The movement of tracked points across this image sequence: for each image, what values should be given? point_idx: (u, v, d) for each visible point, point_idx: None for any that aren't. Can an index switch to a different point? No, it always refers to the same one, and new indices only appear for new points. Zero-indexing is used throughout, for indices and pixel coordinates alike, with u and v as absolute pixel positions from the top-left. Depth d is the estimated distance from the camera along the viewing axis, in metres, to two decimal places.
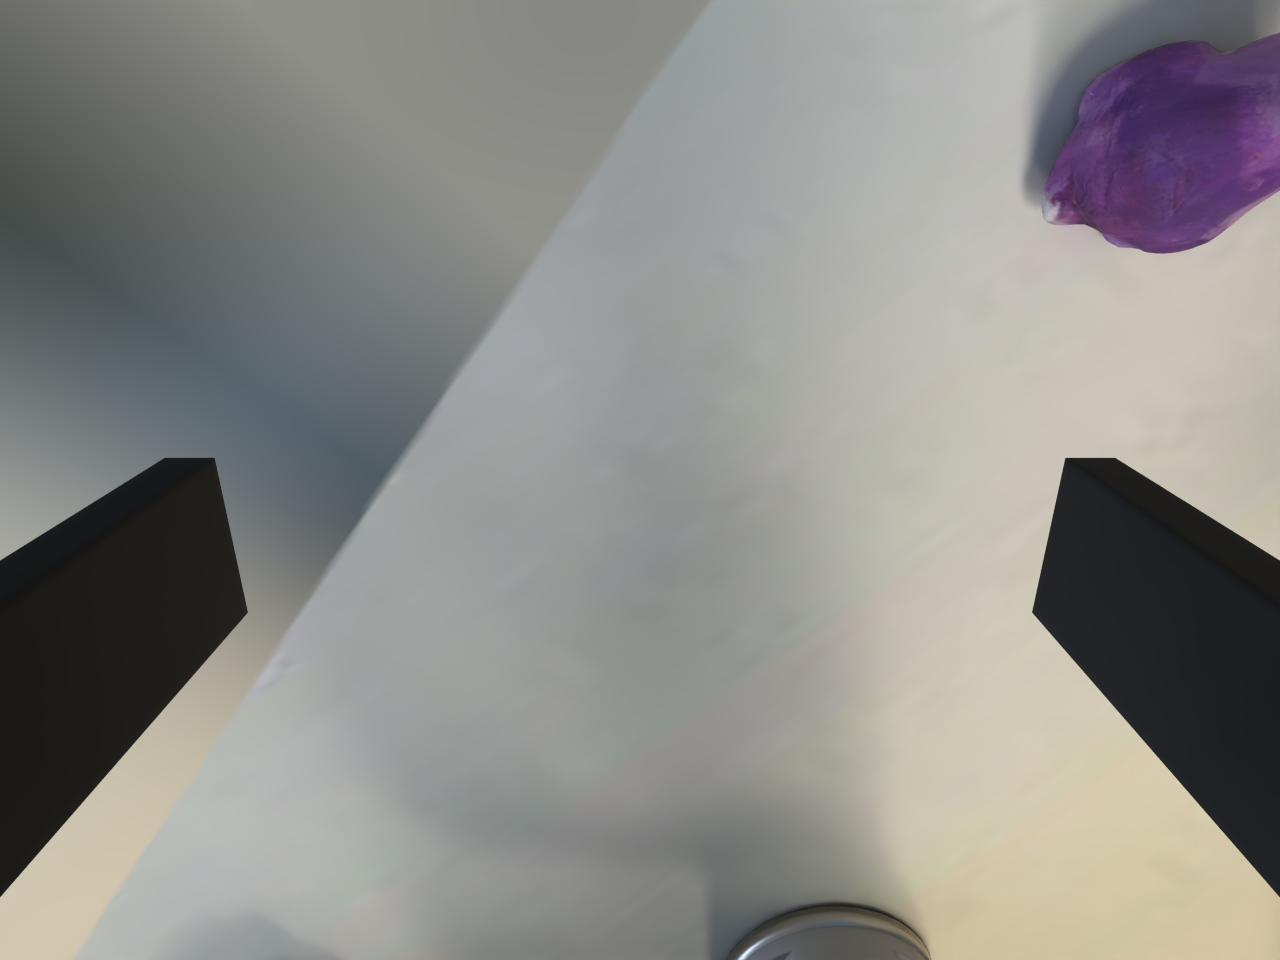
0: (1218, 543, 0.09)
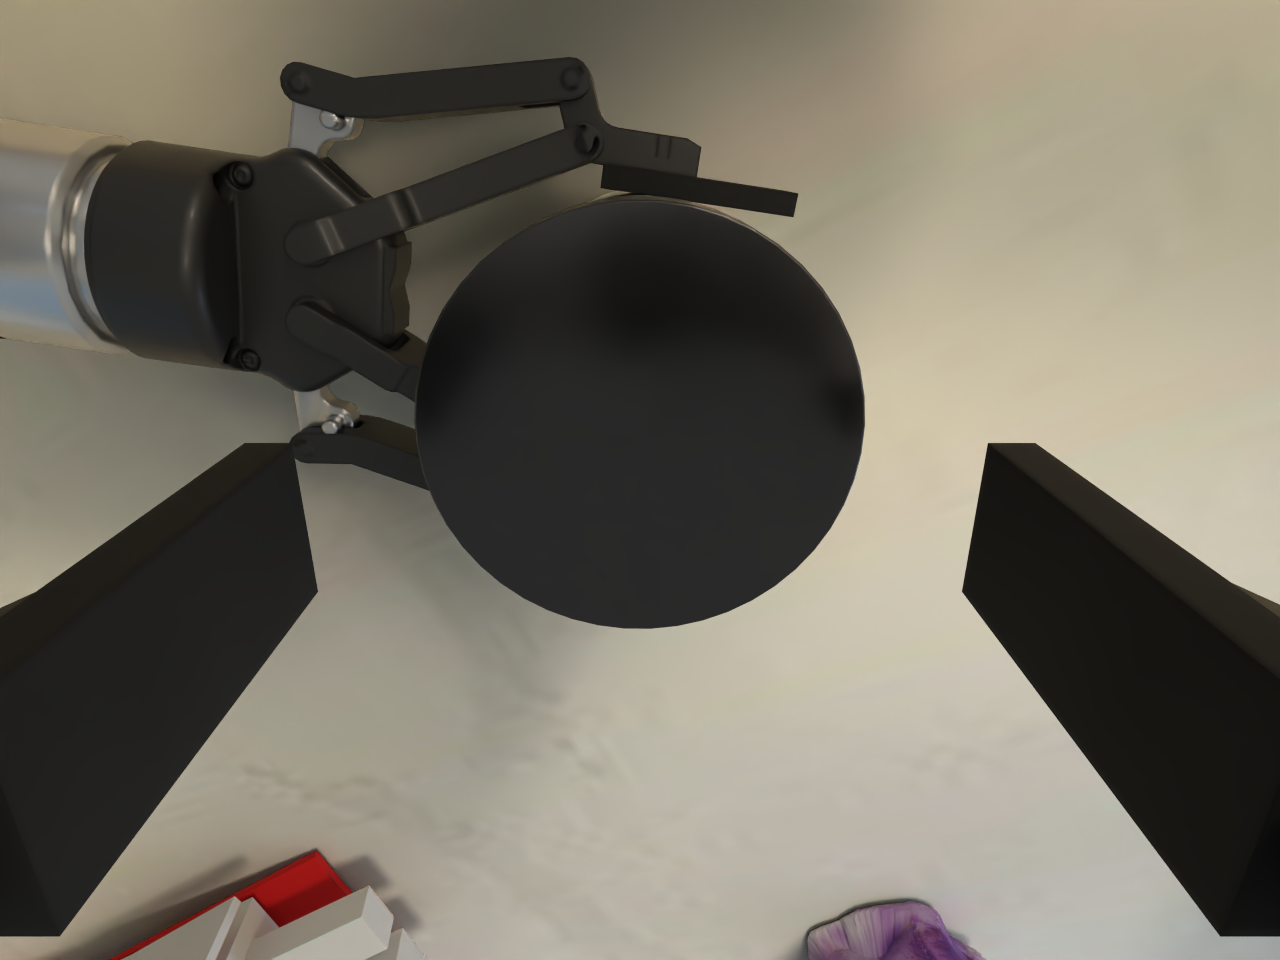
0: (1109, 519, 0.10)
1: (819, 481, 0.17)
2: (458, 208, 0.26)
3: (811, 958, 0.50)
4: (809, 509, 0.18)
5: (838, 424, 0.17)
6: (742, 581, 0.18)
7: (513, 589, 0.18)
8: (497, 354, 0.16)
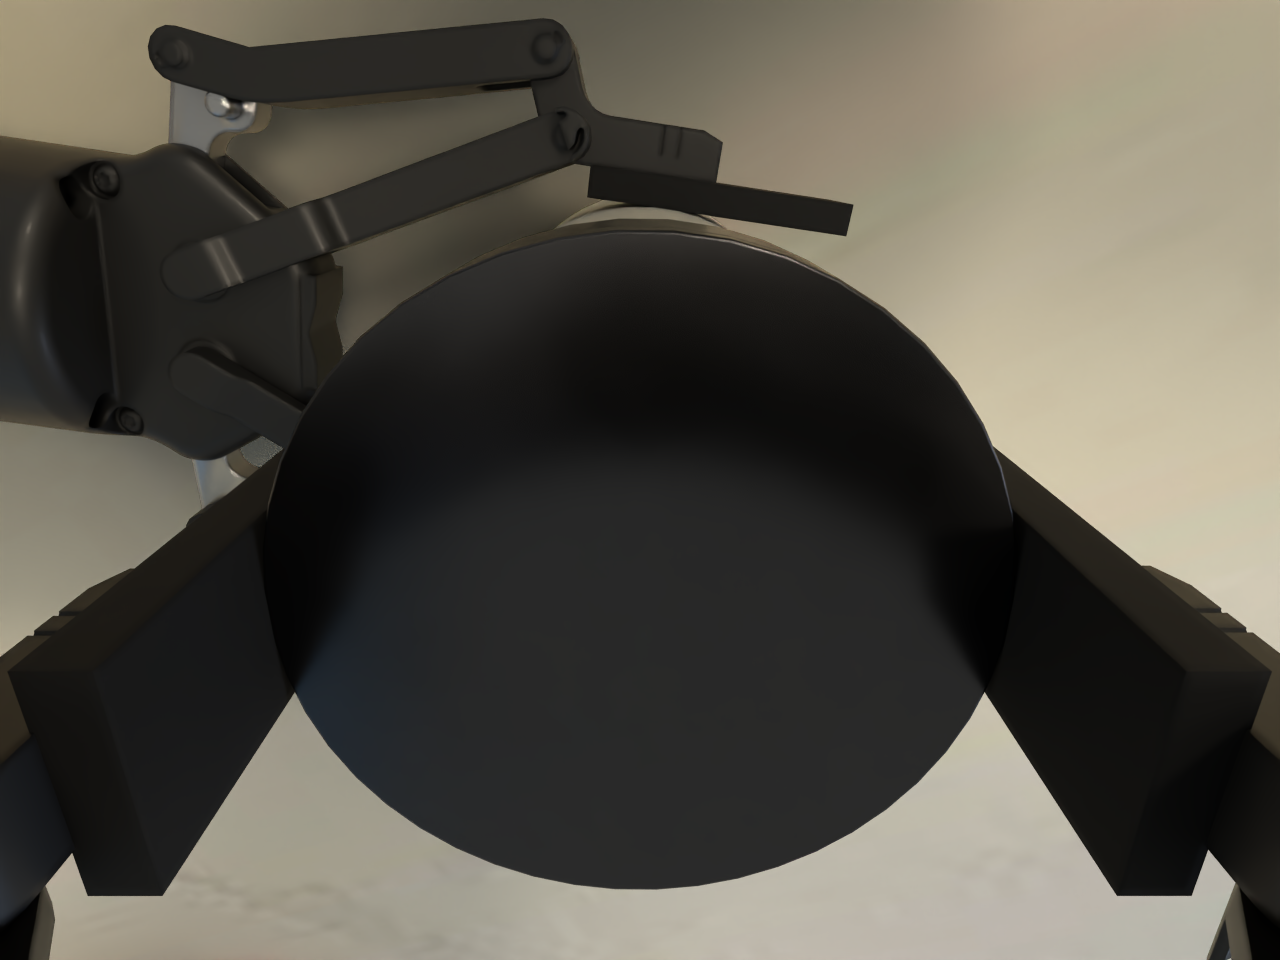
0: (1034, 504, 0.10)
1: (932, 684, 0.11)
2: (396, 224, 0.20)
3: None
4: (914, 725, 0.11)
5: (970, 599, 0.10)
6: (801, 825, 0.12)
7: (440, 836, 0.12)
8: (397, 490, 0.10)
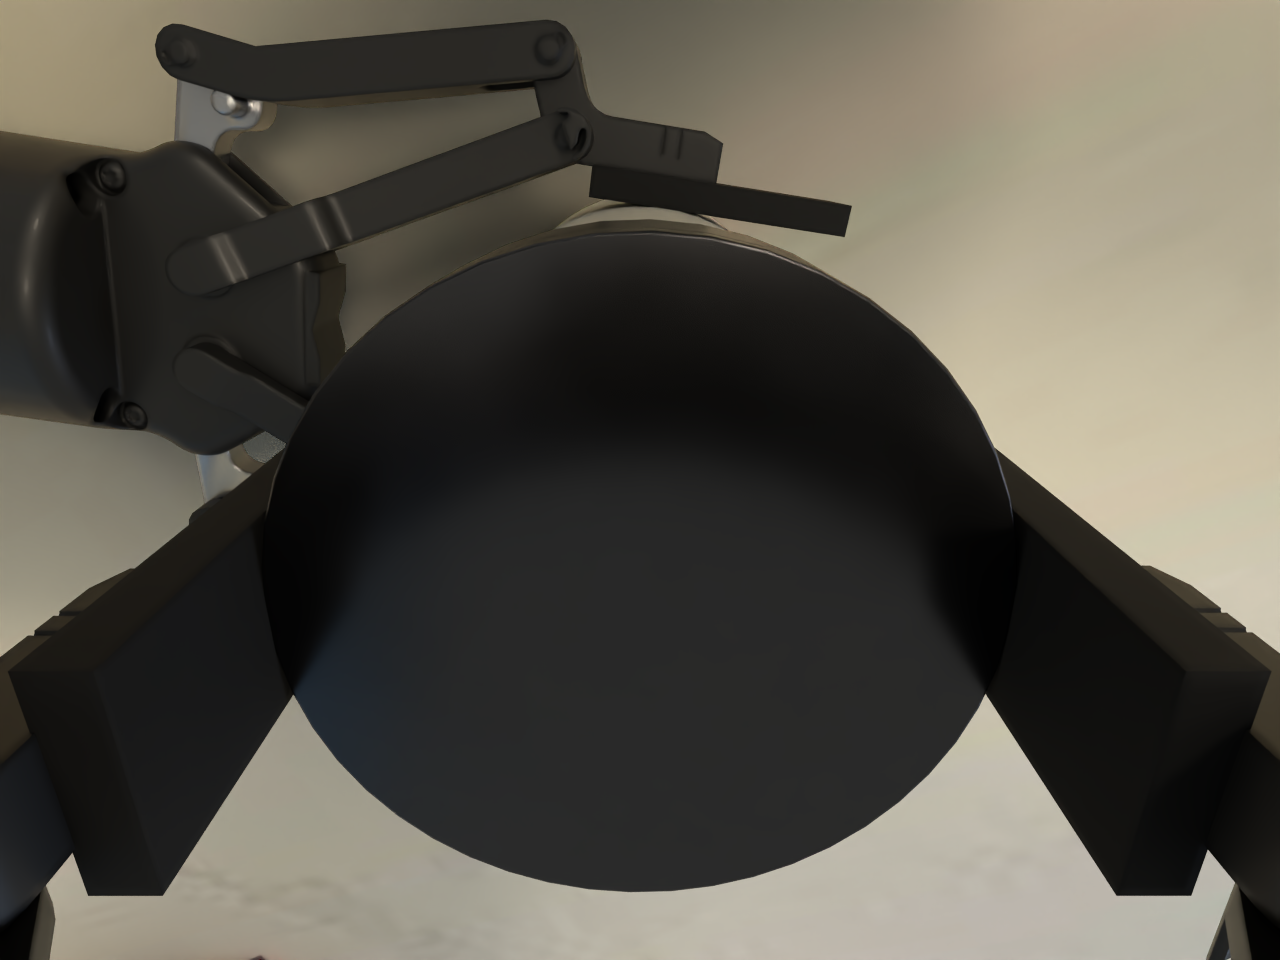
0: (1034, 504, 0.10)
1: (667, 301, 0.09)
2: (400, 222, 0.20)
3: None
4: (730, 306, 0.09)
5: (545, 297, 0.09)
6: (904, 398, 0.09)
7: (940, 756, 0.11)
8: (553, 811, 0.11)
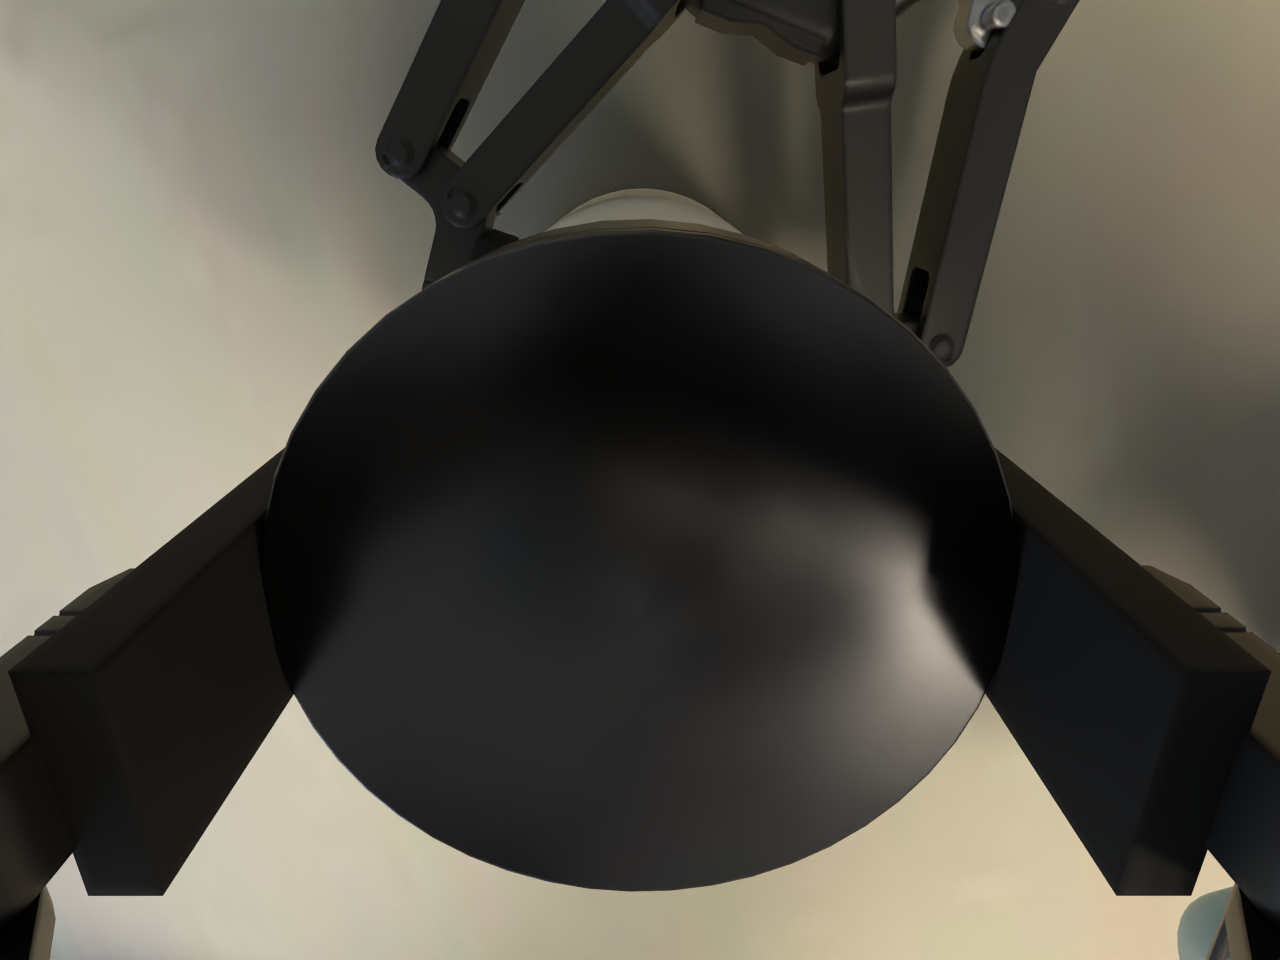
0: (1034, 504, 0.10)
1: (667, 301, 0.09)
2: (845, 168, 0.20)
3: None
4: (730, 306, 0.09)
5: (545, 296, 0.09)
6: (904, 398, 0.09)
7: (940, 756, 0.11)
8: (553, 810, 0.11)
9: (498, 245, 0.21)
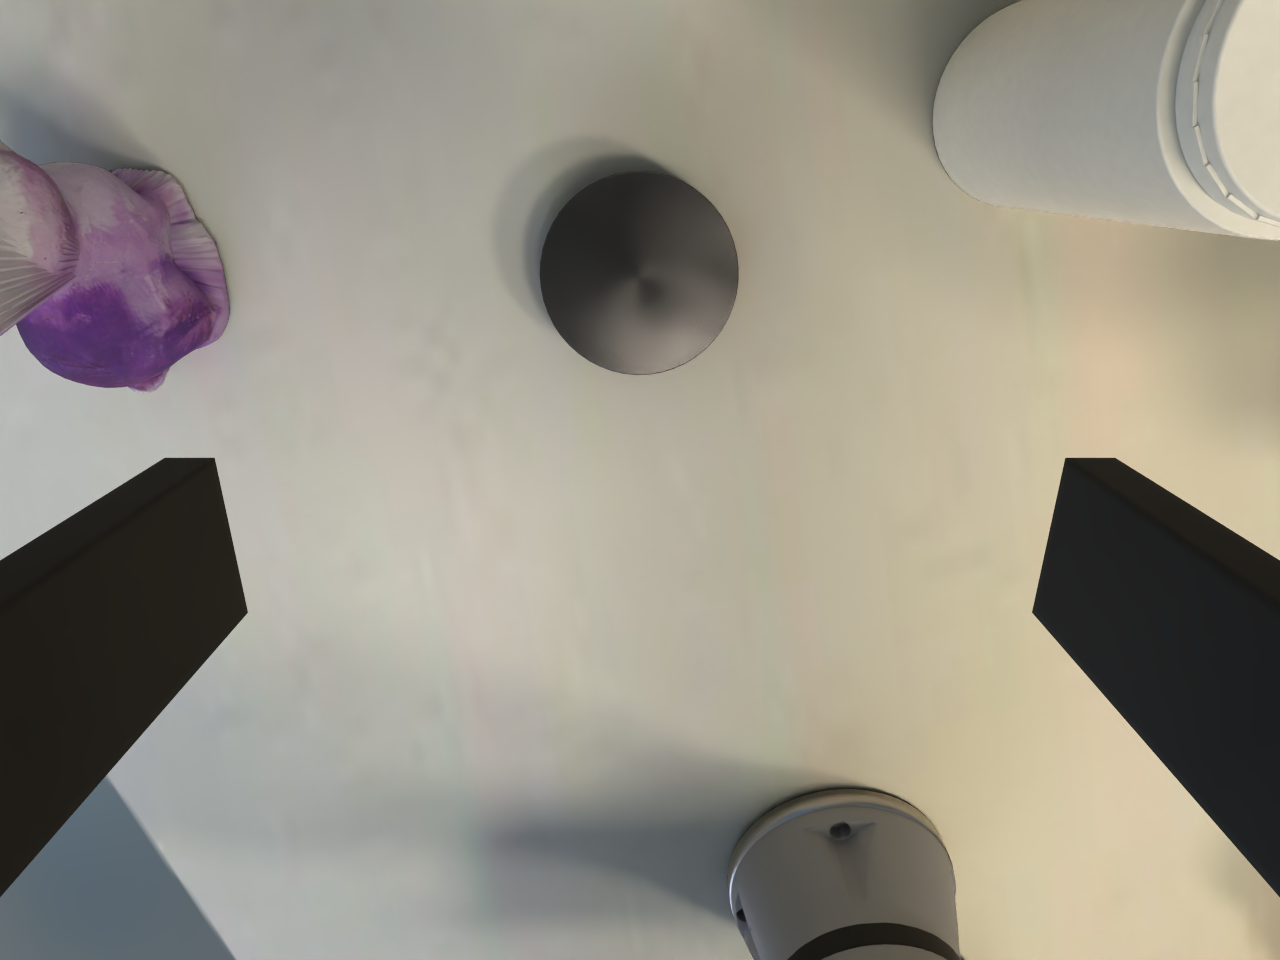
0: (1218, 543, 0.09)
1: (645, 188, 0.37)
2: None
3: (126, 171, 0.38)
4: (660, 189, 0.37)
5: (617, 187, 0.37)
6: (703, 213, 0.37)
7: (724, 323, 0.39)
8: (614, 343, 0.40)
9: None
